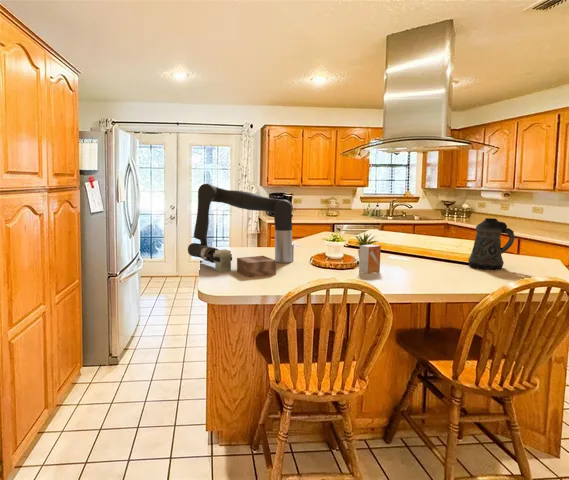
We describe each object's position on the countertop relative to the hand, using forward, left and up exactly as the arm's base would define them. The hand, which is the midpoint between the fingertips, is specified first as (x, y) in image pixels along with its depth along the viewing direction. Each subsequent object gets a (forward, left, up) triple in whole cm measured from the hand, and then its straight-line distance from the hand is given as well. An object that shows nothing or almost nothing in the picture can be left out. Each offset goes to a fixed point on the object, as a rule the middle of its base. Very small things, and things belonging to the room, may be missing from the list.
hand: (225, 259), depth 217 cm
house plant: (-73, +18, -6) cm, 76 cm away
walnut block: (-11, +10, -6) cm, 16 cm away
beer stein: (-117, +63, -6) cm, 133 cm away
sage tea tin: (0, -3, -6) cm, 7 cm away
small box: (-58, +38, -6) cm, 70 cm away
